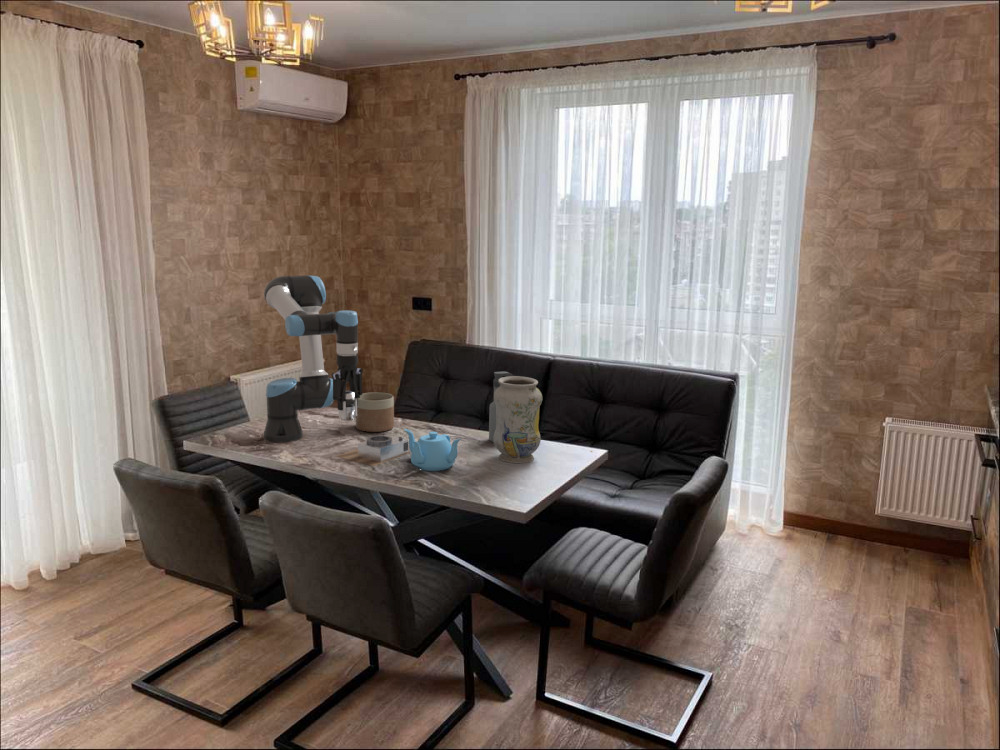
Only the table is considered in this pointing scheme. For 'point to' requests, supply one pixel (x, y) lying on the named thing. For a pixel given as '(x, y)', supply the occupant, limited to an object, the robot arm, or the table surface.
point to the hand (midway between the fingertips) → (348, 416)
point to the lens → (349, 405)
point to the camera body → (382, 447)
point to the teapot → (432, 451)
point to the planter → (375, 412)
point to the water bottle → (492, 406)
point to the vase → (517, 418)
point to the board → (354, 457)
